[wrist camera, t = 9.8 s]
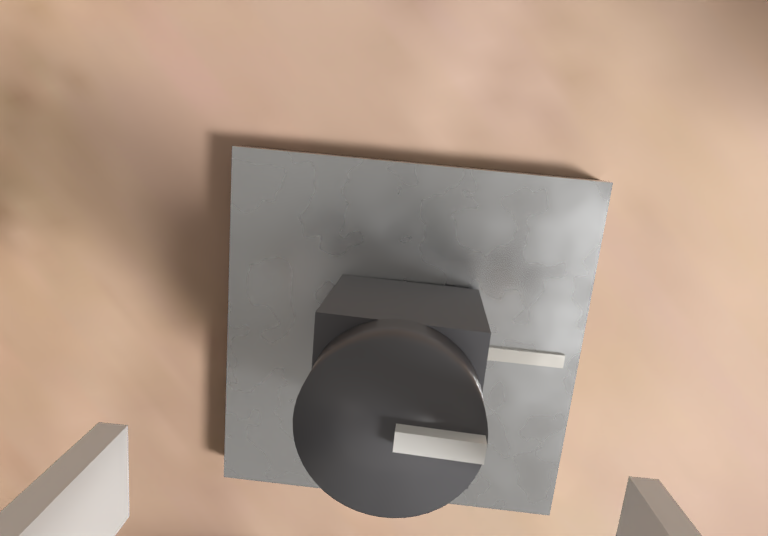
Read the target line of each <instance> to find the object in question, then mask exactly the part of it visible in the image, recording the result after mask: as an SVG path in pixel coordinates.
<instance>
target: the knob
mask: <svg viewBox="0 0 768 536" xmlns="http://www.w3.org/2000/svg"><path fill="white" fill-rule="evenodd" d="M490 338H491V331H490V327H489V324H488V320H487V317H486V313H485V310H484V306H483V303H482V299H481V296H480V292H479V290H477V289H469V288H460V287H451V286H442V285H434V284H425V283H416V282H407V281H399V280H390V279H381V278H372V277H364V276H355V275H346V274H342V276H341V277H340V279H339V280H338V281H337V283H336V284H335V285H334V287H333V288H332V290H331V291H330V292H329V294H328V295H327V296H326V298H325V299H324V301H323V302H322V303H321V305H320V306H319V308H318V309H317V310H316V312H315V324H314V339H313V355H312V369H311V371H310V373H309V375H308V376H307V378H306V380H305V382H304V384H303V385H302V387H301V390H300V392H299V394H298V396H297V399H296V403H295V407H294V412H293V436H294V442H295V446H296V449H297V453H298V455H299V457H300V460H301V462H302V464H303V466H304V467H305V469H306V471H307V472H308V474H309V475H310V476H311V478H312V479H313V480H314V481H315V483H316V484H317V485H318V486H319V487H320V488H321V489H322V490H323V491H324V492H326V493H327V494H328V495H329V496H331V497H332V498H333V499H335V500H336V501H338V502H340V503H341V504H343V505H345V506H347V507H349V508H351V509H353V510H356V511H359V512H362V513H365V514H368V515H373V516H378V517H386V518H406V517H413V516H418V515H422V514H426V513H429V512H432V511H434V510H437V509H439V508H441V507H443V506H445V505H446V504H448V503H450V502H451V501H453V500H454V499H455V498H457V497H458V496H459V495H460V494H461V493H462V492H463V491H464V490H465V489H468V486H469V485H470V484H471V482H472V481H473V480H474V479H475V477H476V475H477V473H478V472H479V470H480V468H481V466H482V465H484V461H485V455H486V450H487V444H488V422H487V417H486V411H485V406H484V400H483V395H482V392H483V385H484V378H485V372H486V365H487V358H488V351H489V345H490Z"/></svg>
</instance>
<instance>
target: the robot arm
mask: <svg viewBox="0 0 768 536" xmlns="http://www.w3.org/2000/svg"><path fill="white" fill-rule="evenodd" d="M128 517H129V464H128V425H121V424H111V423H102V422H99V423H98V424H96V425H95V426H94V427H93V428H92V429H91V430H90V431H89V432H88V433H87V434H85V435H84V436H83V437H82V438H81V439H80V440H79V441H78V442H77V443H76V444H74V445H73V446H72V447H71V448H70V449H69V450H68V451H67V452H66V453H65V454H63V455H62V456H61V457H60V458H59V459H58V460H57V461H56V462H55V463H53V464H52V465H51V466H50V467H49V468H48V469H47V470H46V471H45V472H44V473H42V474H41V475H40V476H39V477H38V478H37V479H36V480H35V481H34V482H33V483H31V484H30V485H29V486H28V487H27V488H26V489H25V490H24V491H23V492H22V493H20V494H19V495H18V496H17V497H16V498H15V499H14V500H13V501H12V502H11V503H9V504H8V505H7V506H6V507H5V508H4V509H3V510H2V511H1V512H0V536H115V535H116V534H117V532H118V531H119V530H120V528H121V527H122V526H123V524H124V523H125V522H126V520H127V519H128ZM616 536H702V535H701V534H700V533H699V531H698V530H697V529H696V527H695V526H694V525H693V524H692V522H691V521H690V520H689V518H688V517H687V516H686V514H685V513H684V512H683V510H682V509H681V508H680V507H679V505H678V504H677V503H676V501H675V500H674V499H673V497H672V496H671V495H670V494H669V492H668V491H667V490H666V488H665V487H664V486H663V484H662V483H661V482H660V481H659V479H649V478H639V477H630V476H629V479H628V483H627V488H626V492H625V497H624V501H623V506H622V511H621V515H620V520H619V524H618V529H617V533H616Z"/></svg>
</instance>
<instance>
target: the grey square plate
mask: <svg viewBox="0 0 768 536" xmlns="http://www.w3.org/2000/svg"><path fill="white" fill-rule="evenodd" d="M612 185H613V183H612V182H607V181H602V180H593V179H583V178H572V177H562V176H551V175H541V174H531V173H520V172H510V171H499V170H489V169H479V168H468V167H458V166H447V165H437V164H426V163H416V162H406V161H395V160H385V159H374V158H364V157H354V156H343V155H333V154H322V153H312V152H301V151H291V150H281V149H270V148H260V147H249V146H232V171H231V211H230V252H229V292H228V333H227V374H226V414H225V455H224V477H229V478H238V479H246V480H255V481H263V482H272V483H280V484H288V485H297V486H305V487H314V488H320V487H319V486H318V485H317V484H316V483H315V481H314V480H313V479H312V478H311V476H310V475H309V474H308V472H307V471H306V469H305V467H304V466H303V464H302V462H301V460H300V457H299V455H298V453H297V449H296V446H295V442H294V436H293V412H294V407H295V403H296V399H297V396H298V394H299V392H300V390H301V387H302V385H303V384H304V382H305V380H306V378H307V376H308V375H309V373H310V371H311V369H312V355H313V339H314V324H315V312H316V310H317V309H318V308H319V306H320V305H321V303H322V302H323V301H324V299H325V298H326V296H327V295H328V294H329V292H330V291H331V290H332V288H333V287H334V285H335V284H336V283H337V281H338V280H339V279H340V277H341V276H342V274H346V275H355V276H364V277H372V278H381V279H390V280H399V281H407V282H416V283H425V284H434V285H442V286H451V287H460V288H469V289H477V290H479V292H480V296H481V299H482V303H483V306H484V310H485V313H486V317H487V320H488V324H489V327H490V331H491V338H490V345H489V351H488V358H487V365H486V372H485V378H484V385H483V392H482V395H483V400H484V406H485V411H486V417H487V422H488V444H487V450H486V455H485V461H484V465H482V466H481V468H480V470H479V472H478V473H477V475H476V477H475V479H474V480H473V481H472V482H471V484H470V485H469V486H468V489H465V490H464V491H463V492H462V493H461V494H460V495H459V496H458V497H457V498H455V499H454V500H453V501H451V502H450V503H449V504H457V505H466V506H474V507H483V508H491V509H500V510H508V511H517V512H525V513H533V514H542V515H550V510H551V504H552V499H553V494H554V489H555V483H556V478H557V473H558V468H559V462H560V457H561V452H562V447H563V441H564V436H565V431H566V426H567V421H568V415H569V410H570V405H571V400H572V394H573V389H574V384H575V379H576V373H577V368H578V363H579V358H580V352H581V347H582V342H583V337H584V331H585V326H586V321H587V316H588V310H589V305H590V300H591V295H592V289H593V284H594V279H595V274H596V268H597V263H598V258H599V253H600V248H601V242H602V237H603V232H604V227H605V221H606V216H607V211H608V206H609V200H610V195H611V190H612Z"/></svg>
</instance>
